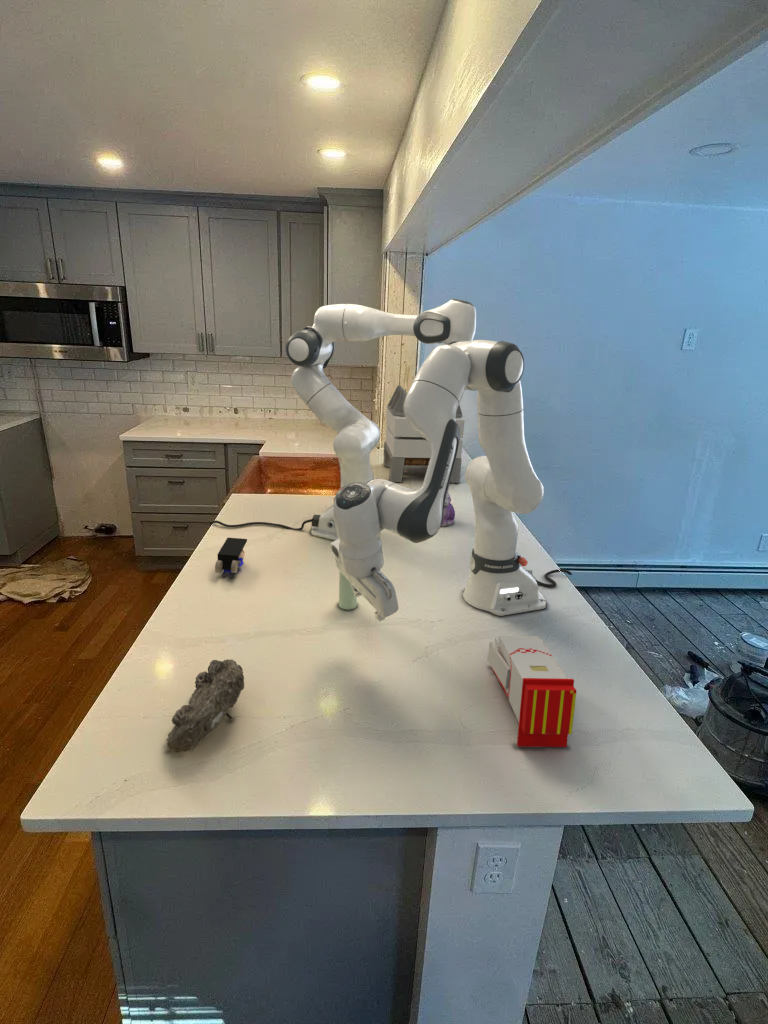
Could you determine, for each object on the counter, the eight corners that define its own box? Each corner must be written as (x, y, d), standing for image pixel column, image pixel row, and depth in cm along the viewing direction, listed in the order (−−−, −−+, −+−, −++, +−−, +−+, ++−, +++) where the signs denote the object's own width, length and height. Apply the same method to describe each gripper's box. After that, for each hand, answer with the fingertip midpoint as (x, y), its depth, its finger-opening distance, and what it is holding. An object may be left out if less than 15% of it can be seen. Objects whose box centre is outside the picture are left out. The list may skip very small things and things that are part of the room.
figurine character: (238, 584, 162) (249, 557, 175) (236, 562, 158) (247, 536, 172) (215, 584, 161) (227, 556, 175) (212, 561, 158) (225, 535, 171)
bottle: (344, 599, 154) (345, 520, 146) (359, 603, 152) (362, 523, 144) (335, 606, 150) (336, 526, 142) (351, 611, 148) (353, 529, 140)
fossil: (192, 660, 117) (244, 628, 112) (224, 691, 120) (276, 661, 115) (142, 746, 98) (202, 712, 93) (182, 779, 101) (242, 748, 96)
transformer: (382, 463, 289) (386, 382, 275) (445, 464, 293) (451, 384, 279) (390, 482, 257) (394, 392, 243) (460, 483, 261) (468, 394, 247)
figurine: (440, 528, 206) (443, 489, 201) (425, 519, 214) (428, 481, 209) (461, 525, 210) (465, 486, 205) (446, 516, 219) (449, 478, 214)
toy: (536, 619, 129) (586, 686, 99) (531, 673, 131) (578, 754, 102) (483, 618, 128) (517, 685, 99) (479, 672, 131) (511, 753, 102)
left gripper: (453, 354, 180) (449, 398, 185) (441, 358, 161) (437, 407, 166) (473, 355, 178) (468, 399, 183) (463, 360, 160) (459, 409, 164)
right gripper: (403, 577, 110) (407, 627, 118) (351, 528, 125) (358, 576, 133) (375, 590, 108) (382, 641, 116) (325, 540, 123) (334, 587, 130)
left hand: (454, 403), depth 174 cm, fingers open, 8 cm apart
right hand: (369, 605), depth 124 cm, fingers open, 8 cm apart
